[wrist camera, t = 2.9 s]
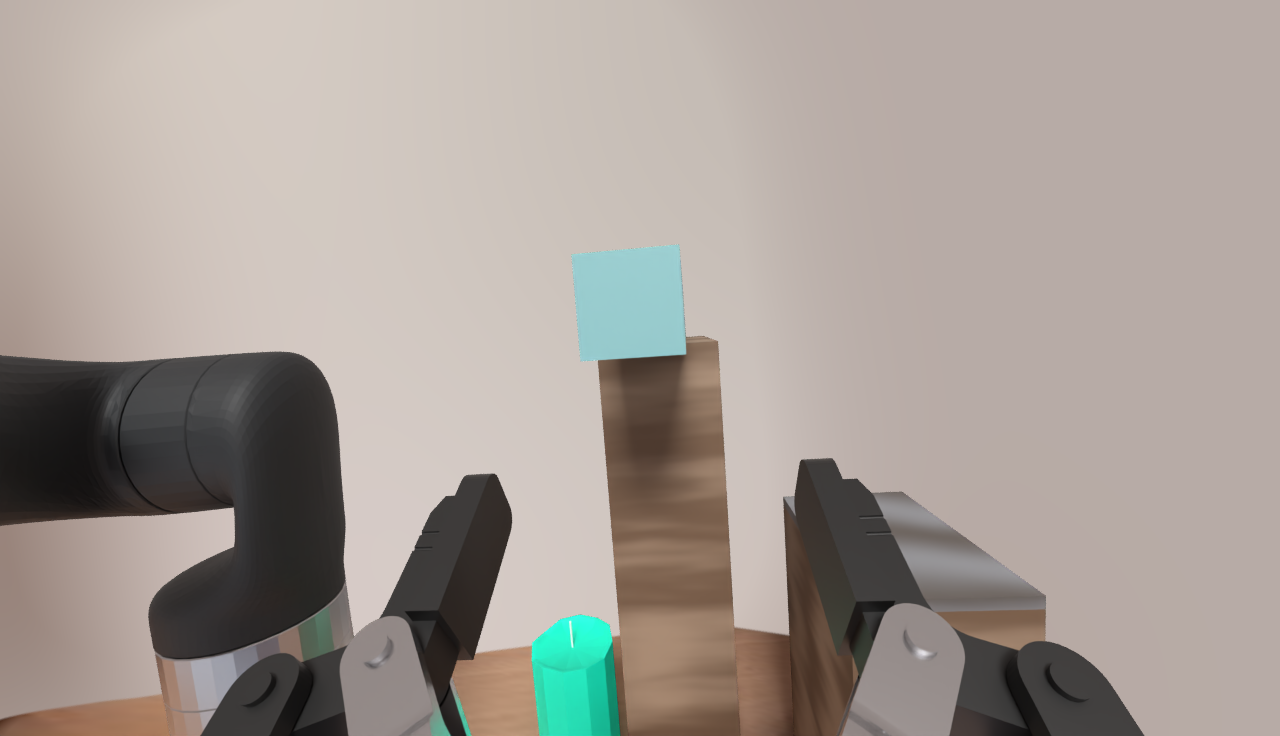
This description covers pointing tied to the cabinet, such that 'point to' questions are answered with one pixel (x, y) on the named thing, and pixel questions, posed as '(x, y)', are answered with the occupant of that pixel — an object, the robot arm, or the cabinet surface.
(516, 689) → the cabinet surface
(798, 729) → the brown wooden block
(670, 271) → the batten
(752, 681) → the cabinet surface
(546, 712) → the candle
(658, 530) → the stand
